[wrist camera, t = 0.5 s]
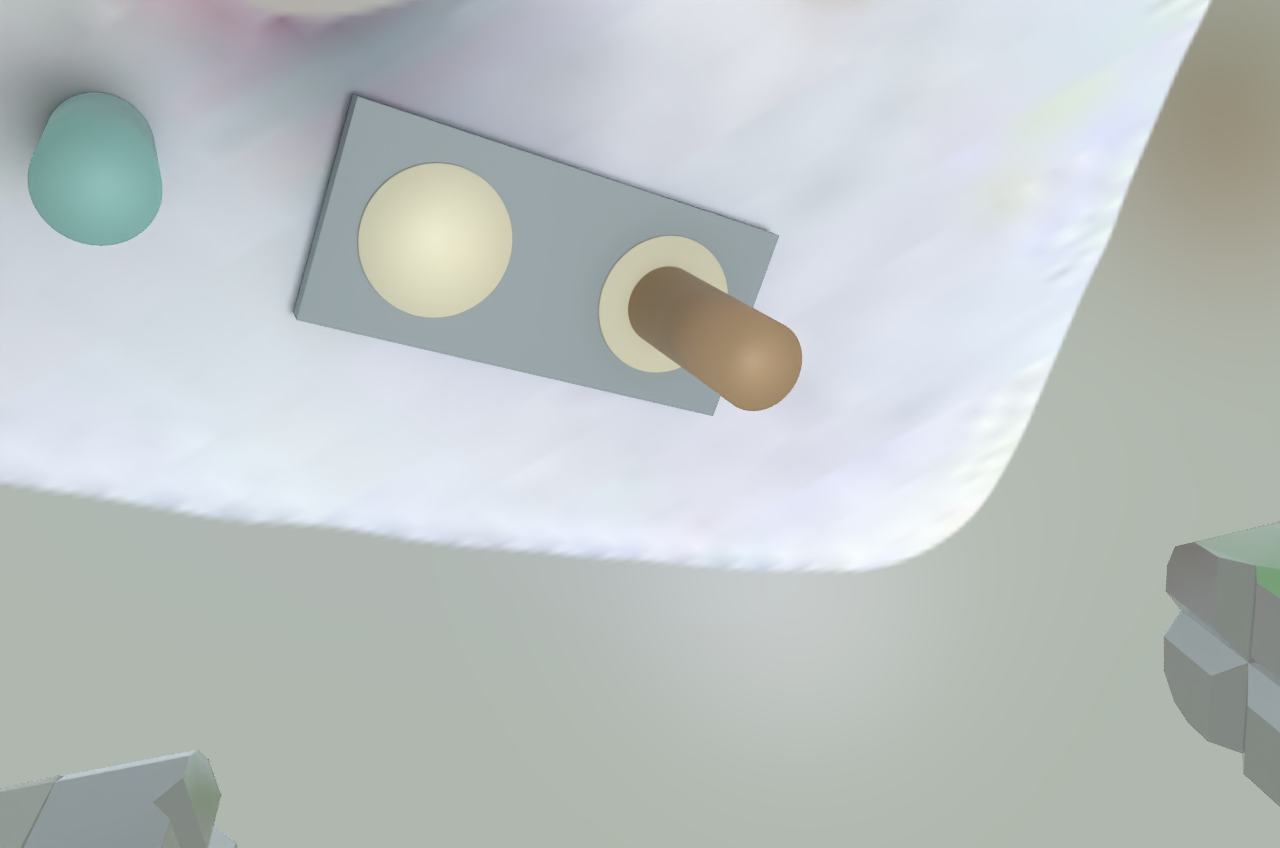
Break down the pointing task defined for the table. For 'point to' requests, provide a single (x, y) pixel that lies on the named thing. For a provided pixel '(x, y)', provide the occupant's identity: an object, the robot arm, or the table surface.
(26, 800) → the robot arm
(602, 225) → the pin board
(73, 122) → the pin
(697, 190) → the table surface
